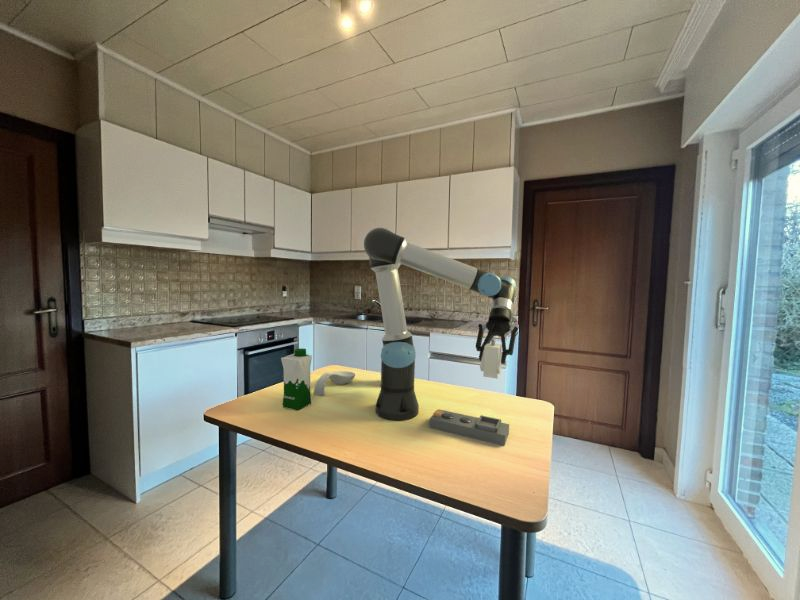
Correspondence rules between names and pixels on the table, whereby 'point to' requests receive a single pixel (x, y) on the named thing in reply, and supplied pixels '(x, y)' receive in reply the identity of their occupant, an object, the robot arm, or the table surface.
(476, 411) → the table surface
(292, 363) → the milk carton
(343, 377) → the grey ladle
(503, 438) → the power strip
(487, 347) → the white block with knob
